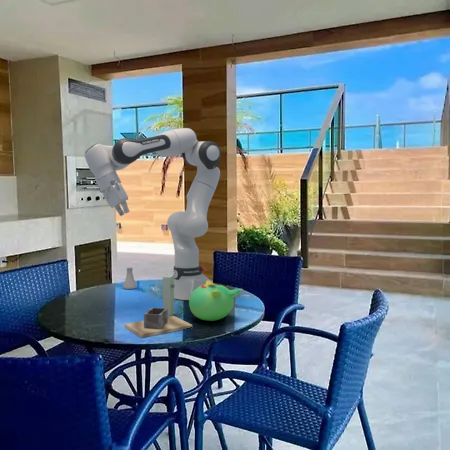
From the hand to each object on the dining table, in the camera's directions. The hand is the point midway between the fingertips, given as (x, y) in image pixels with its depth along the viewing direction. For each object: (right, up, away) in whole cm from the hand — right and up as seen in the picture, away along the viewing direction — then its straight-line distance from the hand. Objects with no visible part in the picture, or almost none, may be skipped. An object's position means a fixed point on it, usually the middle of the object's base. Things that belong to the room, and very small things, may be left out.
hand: (124, 214), depth 192 cm
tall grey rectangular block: (+18, -40, -6) cm, 45 cm away
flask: (-6, -36, +42) cm, 55 cm away
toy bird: (+36, -41, -10) cm, 55 cm away
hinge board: (+17, -41, -21) cm, 49 cm away
